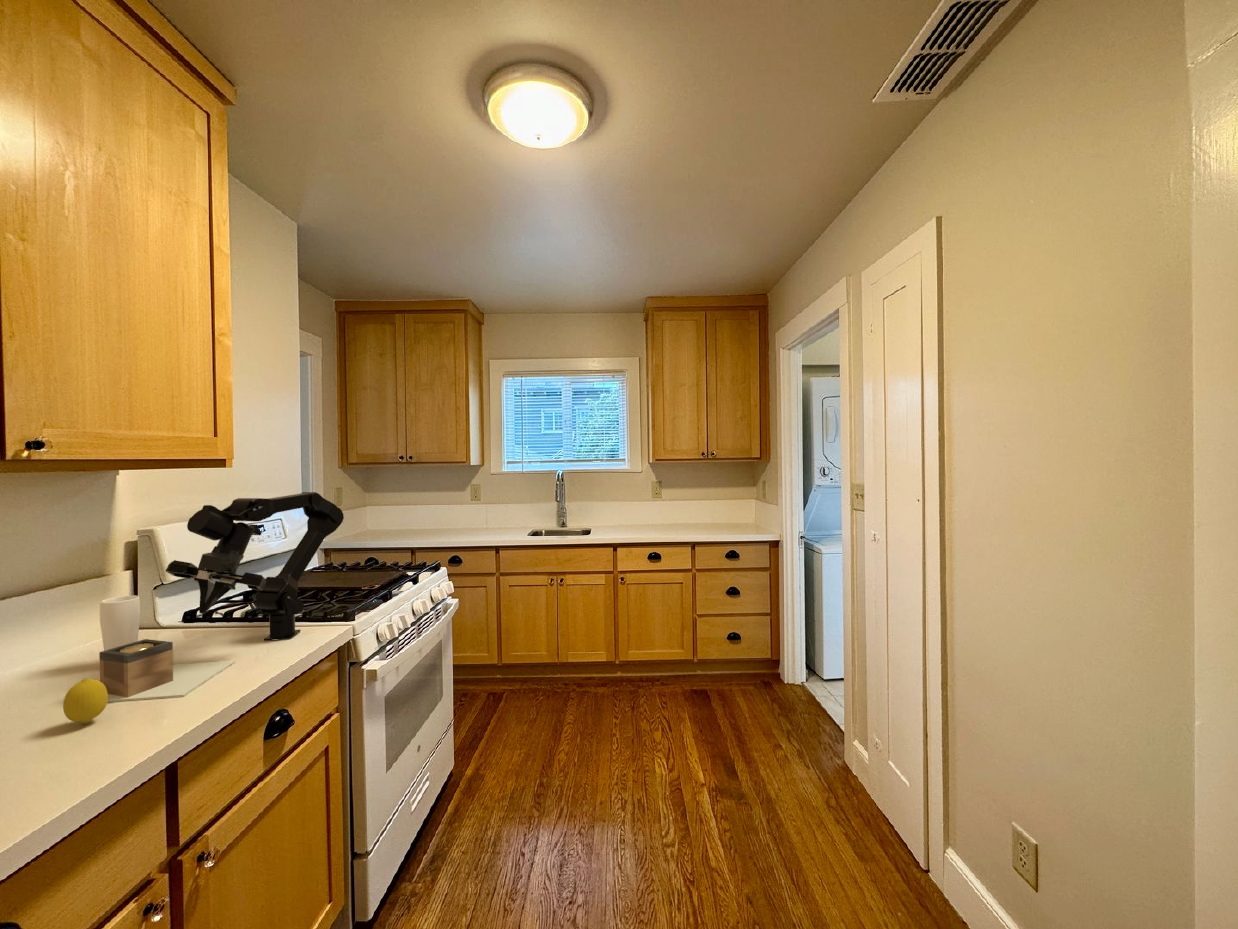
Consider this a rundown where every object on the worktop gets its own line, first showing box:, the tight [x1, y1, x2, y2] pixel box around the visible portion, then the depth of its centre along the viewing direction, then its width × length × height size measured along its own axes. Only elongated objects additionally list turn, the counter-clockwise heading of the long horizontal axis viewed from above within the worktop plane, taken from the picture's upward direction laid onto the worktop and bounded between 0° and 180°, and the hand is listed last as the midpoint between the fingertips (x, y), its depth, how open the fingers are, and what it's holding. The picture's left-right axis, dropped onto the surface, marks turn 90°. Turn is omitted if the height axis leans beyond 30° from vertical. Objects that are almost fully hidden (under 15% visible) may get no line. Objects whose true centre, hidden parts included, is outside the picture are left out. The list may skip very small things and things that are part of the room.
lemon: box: [62, 678, 108, 725], centre depth 93 cm, size 6×6×8 cm
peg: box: [120, 643, 153, 653], centre depth 107 cm, size 5×5×8 cm
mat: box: [107, 660, 236, 703], centre depth 111 cm, size 18×18×1 cm
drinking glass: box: [99, 594, 141, 651], centre depth 121 cm, size 7×7×15 cm
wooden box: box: [98, 638, 174, 697], centre depth 107 cm, size 8×8×8 cm
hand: (201, 613), depth 119 cm, fingers closed
